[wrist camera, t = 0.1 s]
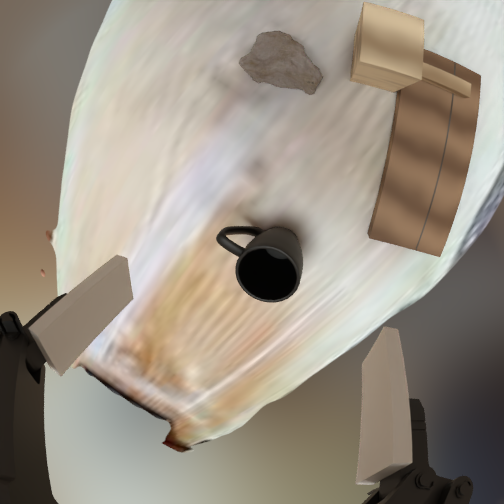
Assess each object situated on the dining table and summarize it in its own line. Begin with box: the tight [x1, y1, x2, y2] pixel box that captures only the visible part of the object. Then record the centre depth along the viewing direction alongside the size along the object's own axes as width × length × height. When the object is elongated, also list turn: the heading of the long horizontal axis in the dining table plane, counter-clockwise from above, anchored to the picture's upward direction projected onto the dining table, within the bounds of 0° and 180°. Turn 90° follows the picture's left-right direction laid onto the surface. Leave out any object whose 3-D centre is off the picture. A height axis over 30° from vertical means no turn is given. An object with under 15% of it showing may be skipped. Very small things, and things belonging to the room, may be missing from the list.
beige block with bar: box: [350, 2, 471, 98], centre depth 20 cm, size 7×16×12 cm, turn 84°
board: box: [368, 49, 481, 257], centre depth 28 cm, size 28×12×2 cm, turn 174°
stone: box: [239, 31, 323, 95], centre depth 27 cm, size 10×8×6 cm
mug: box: [216, 226, 303, 302], centre depth 37 cm, size 8×12×10 cm
